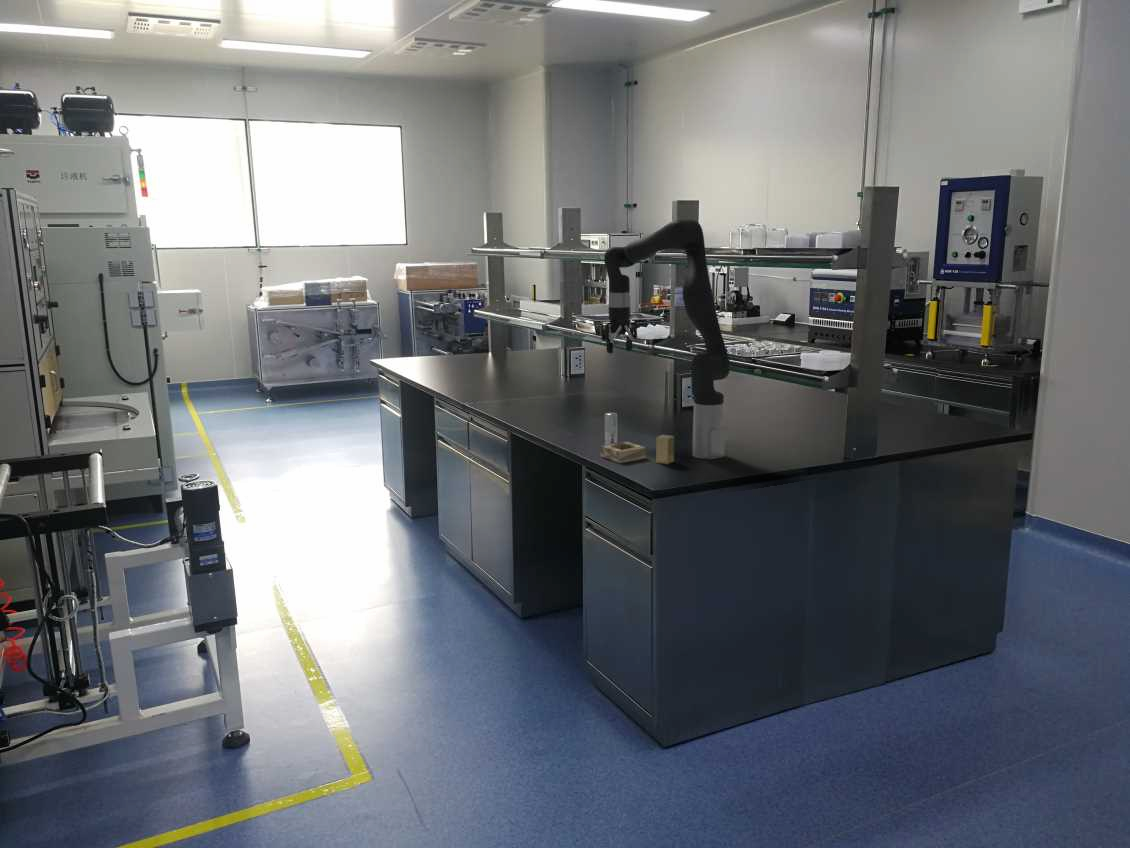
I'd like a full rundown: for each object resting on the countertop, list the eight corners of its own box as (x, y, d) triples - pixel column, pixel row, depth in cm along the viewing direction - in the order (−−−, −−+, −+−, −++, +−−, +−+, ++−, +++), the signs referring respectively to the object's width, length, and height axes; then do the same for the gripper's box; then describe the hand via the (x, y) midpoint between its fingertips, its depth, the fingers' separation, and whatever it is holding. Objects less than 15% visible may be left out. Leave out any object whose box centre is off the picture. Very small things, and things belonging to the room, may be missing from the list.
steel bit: (619, 450, 278) (619, 414, 275) (609, 451, 276) (609, 415, 273) (612, 447, 281) (612, 412, 279) (602, 449, 279) (602, 413, 276)
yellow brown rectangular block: (673, 461, 264) (674, 436, 262) (667, 464, 260) (668, 438, 259) (662, 459, 266) (662, 434, 264) (656, 462, 263) (656, 437, 261)
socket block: (645, 458, 268) (645, 447, 267) (620, 463, 262) (620, 452, 261) (625, 451, 276) (625, 441, 275) (600, 456, 270) (600, 445, 269)
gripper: (610, 307, 288) (610, 355, 291) (642, 305, 296) (641, 351, 300) (596, 306, 294) (597, 353, 297) (627, 303, 302) (627, 349, 306)
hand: (619, 352), depth 298 cm, fingers open, 8 cm apart
